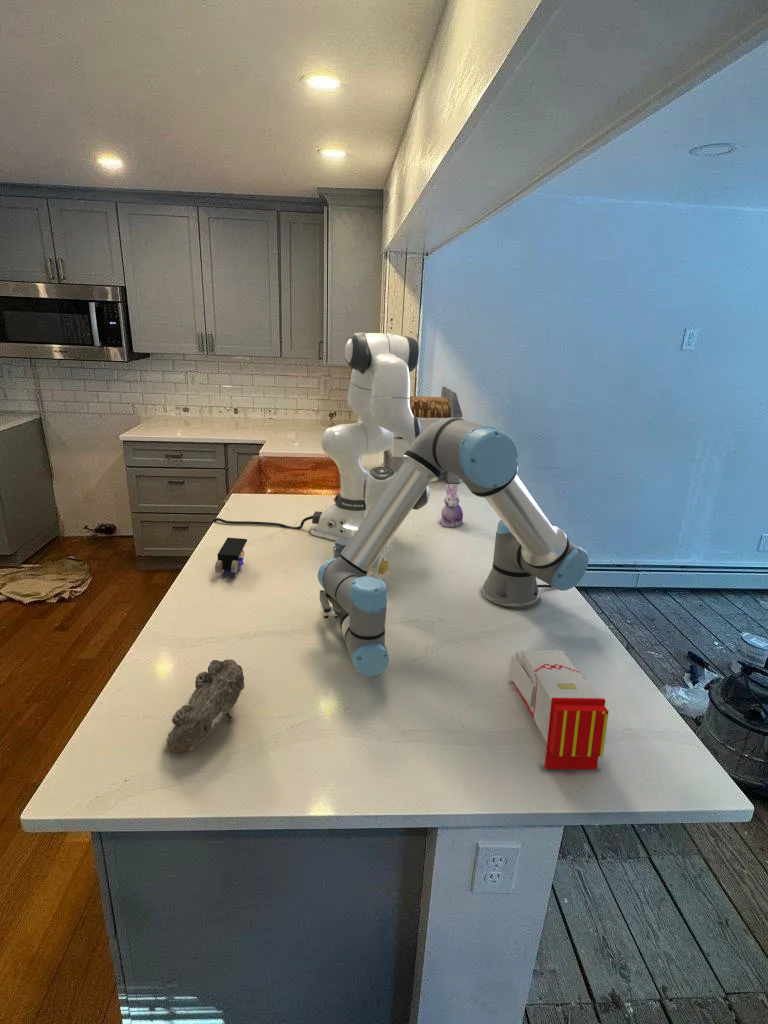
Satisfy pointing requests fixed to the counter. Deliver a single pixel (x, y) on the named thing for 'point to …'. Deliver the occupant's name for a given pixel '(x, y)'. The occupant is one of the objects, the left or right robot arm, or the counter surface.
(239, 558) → the figurine character
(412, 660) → the counter surface
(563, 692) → the toy
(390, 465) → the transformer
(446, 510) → the figurine
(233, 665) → the fossil
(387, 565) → the lid
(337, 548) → the jar
